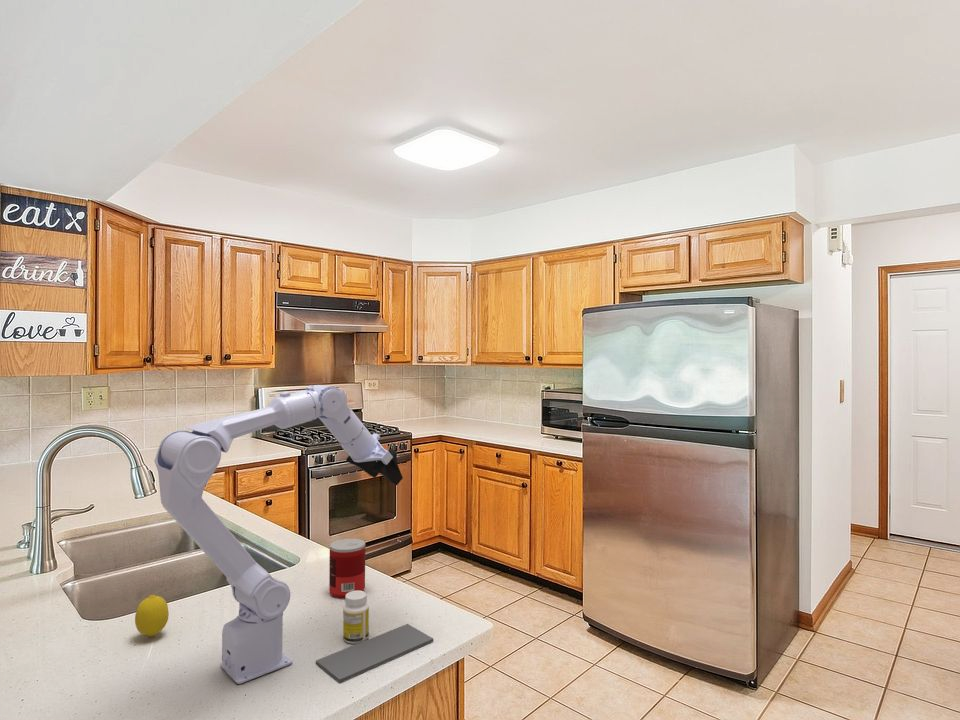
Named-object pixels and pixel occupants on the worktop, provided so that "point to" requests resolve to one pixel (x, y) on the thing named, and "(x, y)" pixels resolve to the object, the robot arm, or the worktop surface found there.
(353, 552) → the canned food
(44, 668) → the worktop surface
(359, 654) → the mat
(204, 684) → the worktop surface
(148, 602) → the lemon
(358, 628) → the supplement bottle
